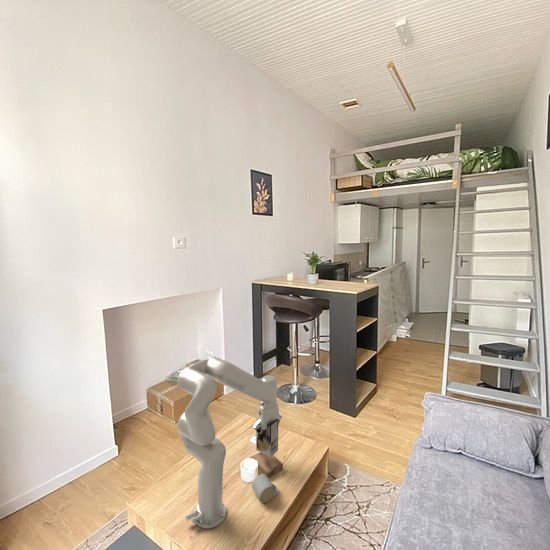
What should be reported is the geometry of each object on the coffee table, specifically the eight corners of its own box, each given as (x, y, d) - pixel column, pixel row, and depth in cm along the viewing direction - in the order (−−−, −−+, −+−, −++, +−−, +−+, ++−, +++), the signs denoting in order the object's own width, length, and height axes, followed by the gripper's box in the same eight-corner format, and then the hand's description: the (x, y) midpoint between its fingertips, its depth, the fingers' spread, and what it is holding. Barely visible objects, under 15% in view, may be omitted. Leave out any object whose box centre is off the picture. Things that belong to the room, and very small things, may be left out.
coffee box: (278, 450, 150) (279, 419, 147) (271, 457, 144) (271, 425, 142) (263, 442, 155) (263, 412, 152) (255, 450, 149) (255, 419, 147)
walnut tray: (266, 479, 142) (266, 472, 141) (250, 462, 152) (250, 457, 151) (282, 469, 148) (282, 463, 148) (266, 454, 158) (266, 449, 158)
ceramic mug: (260, 507, 127) (261, 489, 126) (251, 493, 134) (252, 476, 133) (281, 497, 132) (282, 480, 131) (272, 484, 139) (273, 468, 138)
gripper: (258, 411, 138) (257, 448, 140) (287, 400, 149) (286, 434, 151) (248, 404, 144) (247, 439, 146) (277, 393, 155) (276, 426, 157)
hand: (267, 436), depth 148 cm, fingers closed on coffee box, 7 cm apart
